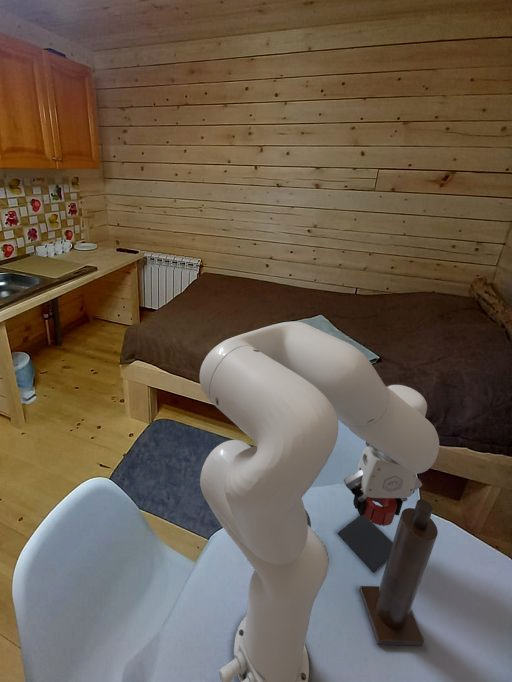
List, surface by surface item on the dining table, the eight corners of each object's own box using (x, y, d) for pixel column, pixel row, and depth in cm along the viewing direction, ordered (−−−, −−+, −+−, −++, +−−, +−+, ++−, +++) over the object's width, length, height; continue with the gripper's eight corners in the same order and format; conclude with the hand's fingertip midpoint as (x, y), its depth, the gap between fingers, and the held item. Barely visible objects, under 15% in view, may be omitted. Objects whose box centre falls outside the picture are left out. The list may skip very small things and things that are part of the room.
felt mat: (372, 572, 71) (373, 571, 71) (337, 533, 78) (337, 532, 78) (398, 549, 75) (398, 547, 75) (362, 514, 83) (362, 513, 83)
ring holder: (377, 644, 60) (413, 530, 51) (358, 590, 68) (387, 482, 58) (422, 645, 60) (467, 532, 51) (398, 591, 68) (434, 483, 58)
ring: (381, 532, 69) (384, 520, 68) (351, 503, 75) (354, 491, 74) (400, 515, 73) (404, 503, 71) (370, 489, 78) (373, 477, 77)
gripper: (357, 460, 64) (342, 526, 70) (448, 460, 64) (426, 526, 70) (341, 430, 71) (329, 492, 77) (423, 430, 71) (405, 492, 77)
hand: (376, 508), depth 74 cm, fingers closed on ring, 7 cm apart
